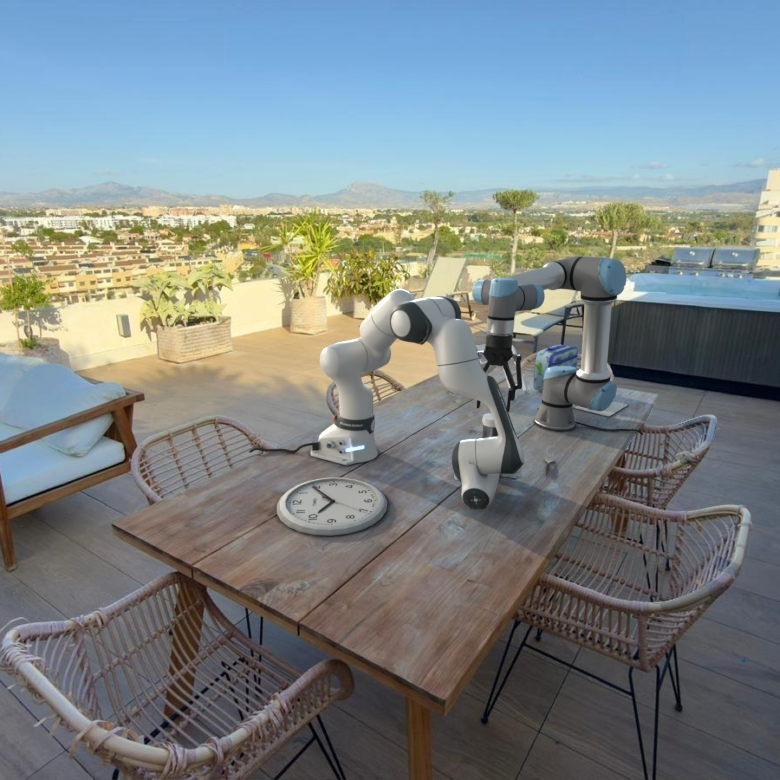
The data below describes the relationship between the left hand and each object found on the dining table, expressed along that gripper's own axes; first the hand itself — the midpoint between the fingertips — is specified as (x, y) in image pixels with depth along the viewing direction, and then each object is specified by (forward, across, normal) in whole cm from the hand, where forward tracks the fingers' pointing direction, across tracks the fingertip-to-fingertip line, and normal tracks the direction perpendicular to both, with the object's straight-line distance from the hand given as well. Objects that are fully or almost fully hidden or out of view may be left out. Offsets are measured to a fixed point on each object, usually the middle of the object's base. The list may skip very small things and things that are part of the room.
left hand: (490, 454), depth 162 cm
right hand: (-1, 0, -16) cm, 16 cm away
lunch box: (+100, -18, +6) cm, 102 cm away
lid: (-1, 0, -13) cm, 13 cm away
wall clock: (-35, +38, +6) cm, 52 cm away
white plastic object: (+83, +15, +6) cm, 84 cm away
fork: (+11, -18, +6) cm, 21 cm away
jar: (-1, 0, +6) cm, 6 cm away
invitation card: (+81, -38, +6) cm, 89 cm away
